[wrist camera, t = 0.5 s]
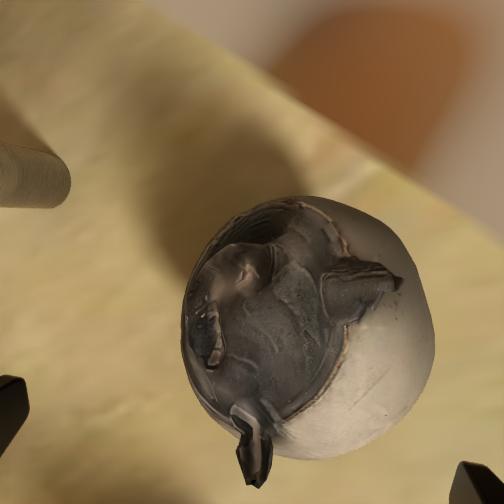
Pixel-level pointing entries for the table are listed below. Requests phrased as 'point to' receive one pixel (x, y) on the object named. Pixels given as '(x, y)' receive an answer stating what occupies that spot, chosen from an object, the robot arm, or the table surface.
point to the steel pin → (31, 178)
